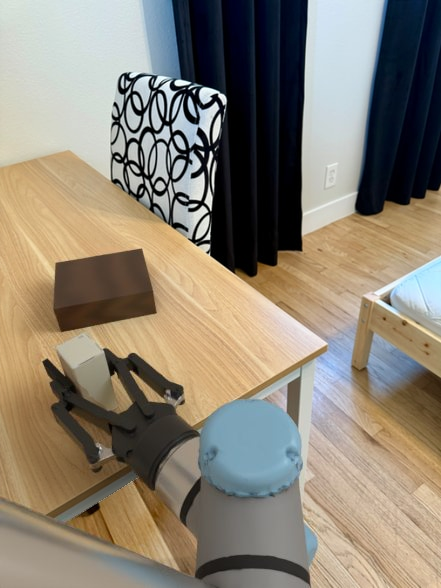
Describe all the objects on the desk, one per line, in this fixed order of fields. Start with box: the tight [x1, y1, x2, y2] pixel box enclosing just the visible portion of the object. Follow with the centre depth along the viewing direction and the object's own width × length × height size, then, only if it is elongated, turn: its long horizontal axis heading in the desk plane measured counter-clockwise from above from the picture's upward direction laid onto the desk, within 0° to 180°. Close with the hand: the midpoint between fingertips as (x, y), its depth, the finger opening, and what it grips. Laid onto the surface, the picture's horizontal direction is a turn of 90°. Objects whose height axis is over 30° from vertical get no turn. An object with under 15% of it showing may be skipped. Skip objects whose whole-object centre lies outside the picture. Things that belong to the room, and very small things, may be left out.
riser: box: [52, 247, 157, 333], centre depth 77 cm, size 16×14×5 cm
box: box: [54, 331, 119, 411], centre depth 56 cm, size 5×4×11 cm
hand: (66, 355), depth 58 cm, fingers open, 5 cm apart
